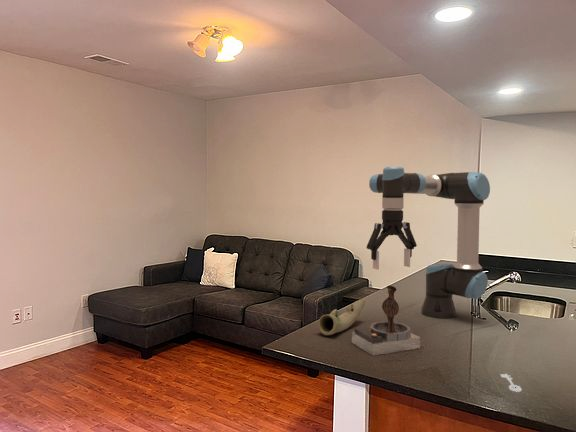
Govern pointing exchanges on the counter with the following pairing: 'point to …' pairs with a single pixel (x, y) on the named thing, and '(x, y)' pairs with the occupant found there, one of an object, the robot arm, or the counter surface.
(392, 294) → the figurine
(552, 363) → the counter surface
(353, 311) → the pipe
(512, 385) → the key
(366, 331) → the white flat device
